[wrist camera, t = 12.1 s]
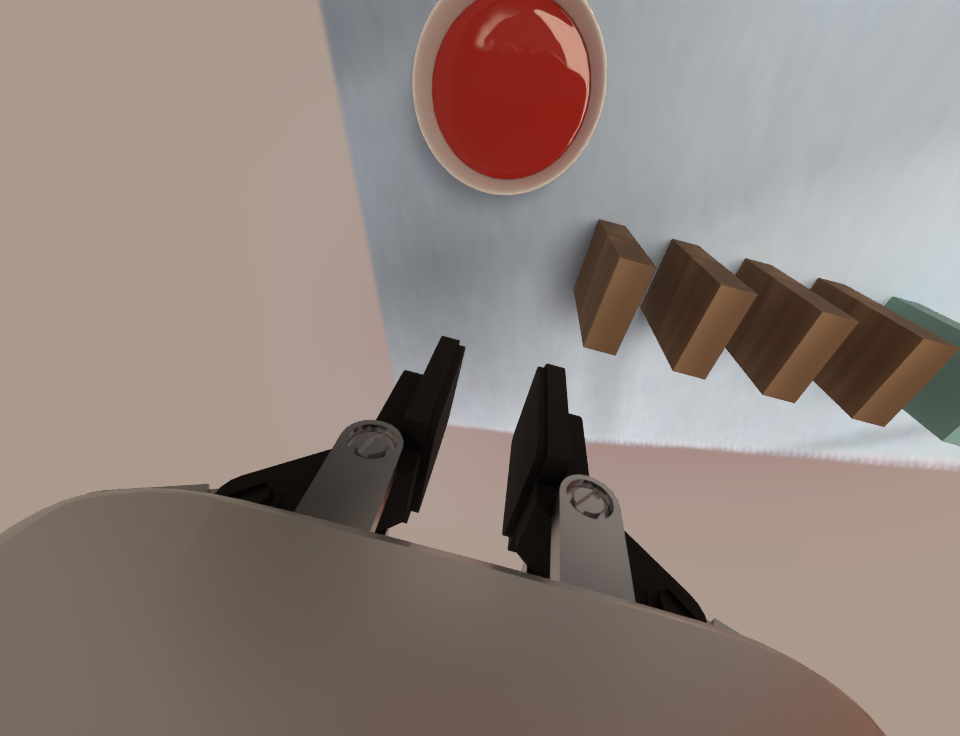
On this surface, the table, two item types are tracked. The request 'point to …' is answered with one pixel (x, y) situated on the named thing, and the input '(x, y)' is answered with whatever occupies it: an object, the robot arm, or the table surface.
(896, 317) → the domino
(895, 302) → the domino
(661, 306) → the domino
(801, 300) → the domino
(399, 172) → the table surface
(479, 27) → the candle
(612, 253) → the domino
